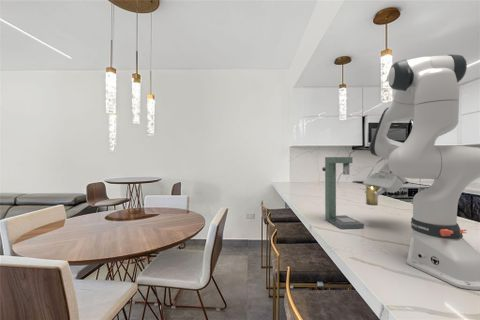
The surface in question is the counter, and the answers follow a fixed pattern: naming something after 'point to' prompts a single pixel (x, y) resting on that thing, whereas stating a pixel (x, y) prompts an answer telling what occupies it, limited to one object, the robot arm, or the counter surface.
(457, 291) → the counter surface
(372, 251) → the counter surface
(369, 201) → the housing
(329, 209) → the press
